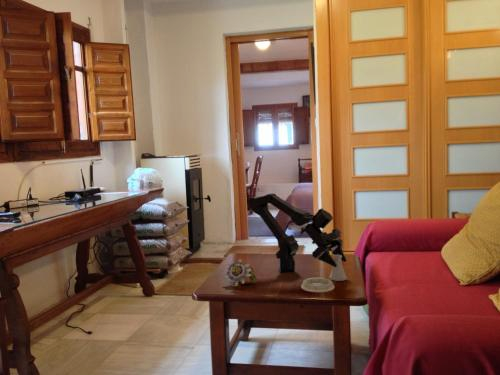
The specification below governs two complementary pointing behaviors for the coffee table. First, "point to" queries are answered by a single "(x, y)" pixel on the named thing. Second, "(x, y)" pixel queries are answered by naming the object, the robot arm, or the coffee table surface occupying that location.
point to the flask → (338, 270)
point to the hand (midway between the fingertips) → (341, 263)
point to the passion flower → (239, 273)
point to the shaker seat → (317, 285)
